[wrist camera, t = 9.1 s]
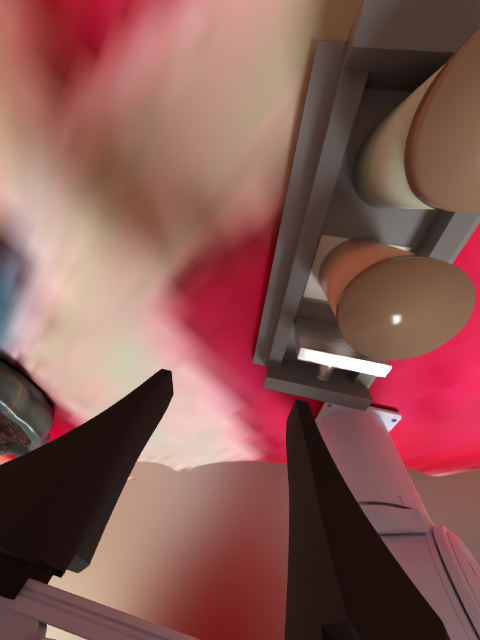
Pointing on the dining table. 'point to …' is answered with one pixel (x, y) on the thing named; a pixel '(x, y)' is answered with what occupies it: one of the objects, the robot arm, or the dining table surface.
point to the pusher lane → (337, 178)
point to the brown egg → (428, 143)
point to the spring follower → (332, 350)
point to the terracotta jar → (394, 298)
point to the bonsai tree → (22, 414)
